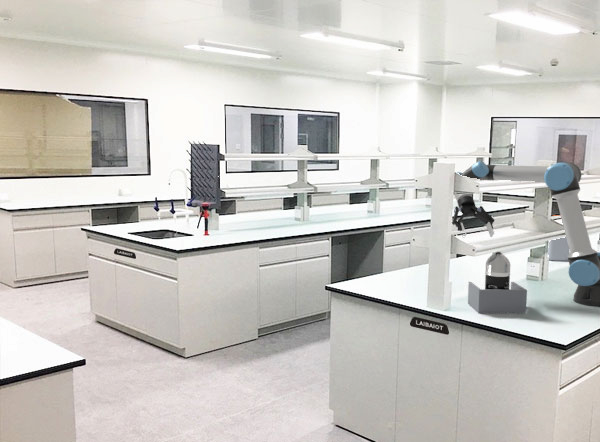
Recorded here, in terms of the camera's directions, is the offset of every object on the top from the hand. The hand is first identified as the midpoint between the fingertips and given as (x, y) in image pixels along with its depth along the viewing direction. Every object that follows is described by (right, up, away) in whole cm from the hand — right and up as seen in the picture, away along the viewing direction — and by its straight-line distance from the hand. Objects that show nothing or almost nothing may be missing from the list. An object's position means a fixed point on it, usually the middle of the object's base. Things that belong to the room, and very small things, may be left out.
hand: (478, 235), depth 258 cm
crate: (+3, -31, -13) cm, 34 cm away
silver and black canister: (+3, -32, -13) cm, 34 cm away
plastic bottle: (+82, -18, +102) cm, 132 cm away
